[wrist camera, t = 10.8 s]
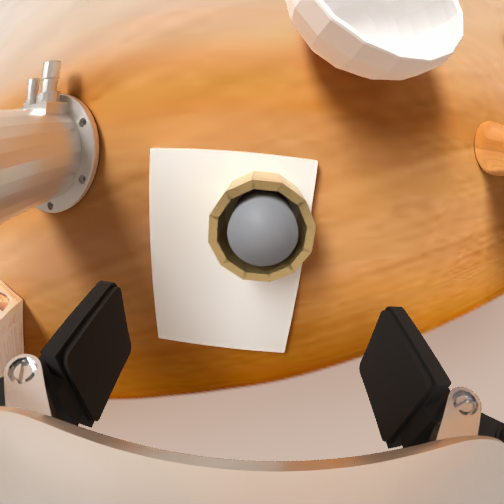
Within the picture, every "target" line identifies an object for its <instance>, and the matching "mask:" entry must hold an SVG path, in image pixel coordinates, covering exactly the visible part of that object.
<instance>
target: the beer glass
mask: <svg viewBox="0 0 504 504" xmlns="http://www.w3.org/2000/svg"><path fill="white" fill-rule="evenodd" d="M475 154H476V158H477V161H478V163H479V165H480V167H481V168H482V169H483V170H484V171H485V172H486V173H487V174H490V175H495V176H504V125H502V124H500V123H497V122H494V121H485V122H483V123H482V124H481V125H480V126H479V127H478V129H477V132H476V135H475Z"/></svg>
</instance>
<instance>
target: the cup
mask: <svg viewBox="0 0 504 504" xmlns="http://www.w3.org/2000/svg"><path fill="white" fill-rule="evenodd" d="M285 1H286V5H287V8H288V12H289V16H290V19H291V22H292V24H293V26H294V27H295V29H296V30H297V32H298V33H299V34H300V36H301V37H302V38H303V39H304V41H305V42H306V43H307V45H308V46H309V47H310V49H311V50H312V51H313V52H314V53H316V54H317V55H319V56H320V57H321V58H323V59H324V60H326V61H327V62H329V63H330V64H331V65H333V66H334V67H335V68H338V69H341V70H344V71H347V72H350V73H353V74H355V75H358V76H361V77H364V78H368V79H372V80H404V79H408V78H411V77H414V76H417V75H420V74H422V73H424V72H427V71H429V70H432V69H434V68H436V67H439V66H441V65H442V64H443V63H444V62H445V61H446V60H447V59H448V58H449V57H450V56H451V55H452V54H453V52H454V51H455V49H456V47H457V46H458V44H459V43H460V41H461V39H462V38H463V12H462V10H461V7H460V4H459V2H458V0H285Z"/></svg>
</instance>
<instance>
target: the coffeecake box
mask: <svg viewBox="0 0 504 504" xmlns="http://www.w3.org/2000/svg"><path fill="white" fill-rule="evenodd" d="M21 354H24V339H23V299H22V298H20V297H19V296H18V295H17V294H16V293H14V292H13V291H12V290H11V289H10V288H9V287H8V286H7V285H6V284H5V283H4V282H3V281H2V280H1V279H0V378H1V377H4V370H5V367H6V365H7V363H8V362H9V361H10V360H11V359H13V358H14V357H16V356H18V355H21Z"/></svg>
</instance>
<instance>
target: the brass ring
mask: <svg viewBox="0 0 504 504" xmlns="http://www.w3.org/2000/svg"><path fill="white" fill-rule="evenodd" d="M252 189H259V190H269V191H279V192H280V193H281V194H283V195H284V196H286V197H287V198H288V199H290V200H291V201H292V202H294V203H295V204H297V206H298V217H297V226H298V240H297V243H296V246H295V248H294V250H293V251H292V252H291V254H290V255H289V256H288V257H287V258H285V259H284V260H283V261H281V262H279V263H277V264H274V265H270V266H256V265H252V264H249V263H247V262H245V261H243V260H242V259H240V258H239V257H238V256H237V255H236V254H235V253H234V252H233V250H232V248H231V247H230V244H229V241H228V236H227V229H228V224H227V222H226V207H227V204H228V203H229V202H230V200H231V199H232V198H235V197H237V196H239V195H241V194H243V193H246V192H248V191H250V190H252ZM315 230H316V224H315V222H314V219H313V217H312V214H311V212H310V209H309V207H308V204H307V202H306V200H305V198H304V197H303V195H302V194H301V192H300V191H299V189H298V188H297V186H295V185H294V184H293V183H291V182H290V181H288V180H287V179H286V178H284V177H283V176H282V175H280V174H279V173H273V172H264V171H252V172H250V173H248V174H246V175H243V176H241V177H239V178H237V179H235V180H233V181H232V182H231V184H230V185H229V187H228V188H227V189H226V191H225V192H224V194H223V195H222V197H221V198H220V200H219V201H218V203H217V204H216V206H215V207H214V209H213V210H212V212H211V213H210V215H209V230H208V243H209V245H210V247H211V248H212V250H213V252H214V254H215V256H216V258H217V259H218V261H219V263H220V265H221V266H223V267H224V268H226V269H227V270H229V271H230V272H232V273H234V274H235V275H237V276H238V277H240V278H241V279H243V280H252V281H263V282H271V281H274V280H277V279H279V278H282V277H284V276H287V275H289V274H292V273H294V272H295V271H296V270H297V269H298V268H299V267H300V265H301V264H302V263H303V262H304V261H305V260H306V258H307V257H308V256H309V255H310V254H311V252H312V247H313V242H314V236H315Z"/></svg>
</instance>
